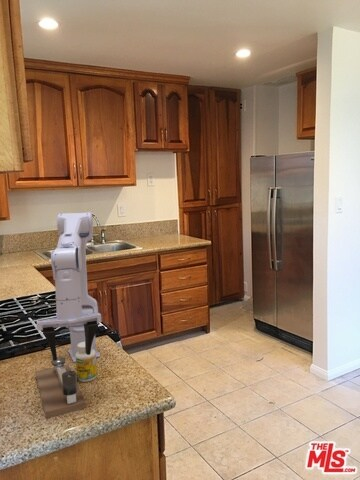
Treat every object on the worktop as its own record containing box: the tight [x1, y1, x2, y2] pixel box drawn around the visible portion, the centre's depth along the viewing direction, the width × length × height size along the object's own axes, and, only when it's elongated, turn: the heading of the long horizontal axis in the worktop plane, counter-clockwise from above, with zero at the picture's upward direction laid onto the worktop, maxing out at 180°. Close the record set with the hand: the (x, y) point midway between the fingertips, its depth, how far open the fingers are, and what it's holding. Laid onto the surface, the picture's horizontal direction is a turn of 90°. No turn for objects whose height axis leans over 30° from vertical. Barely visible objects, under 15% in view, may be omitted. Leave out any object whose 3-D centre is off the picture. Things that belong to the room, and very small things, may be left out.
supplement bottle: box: [75, 342, 98, 383], centre depth 106 cm, size 5×5×10 cm
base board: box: [34, 363, 87, 419], centre depth 100 cm, size 22×9×2 cm, turn 26°
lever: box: [51, 356, 78, 404], centre depth 100 cm, size 20×4×6 cm, turn 26°
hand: (71, 356), depth 92 cm, fingers open, 7 cm apart
